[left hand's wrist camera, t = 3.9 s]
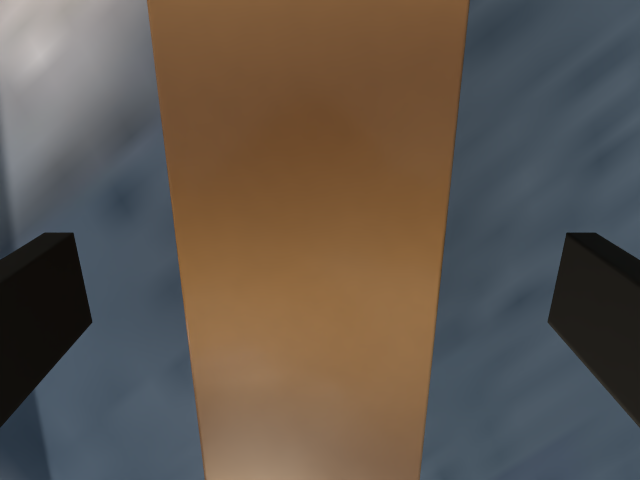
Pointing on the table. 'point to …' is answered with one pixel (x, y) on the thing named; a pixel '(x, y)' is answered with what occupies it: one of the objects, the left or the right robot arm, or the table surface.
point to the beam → (310, 223)
